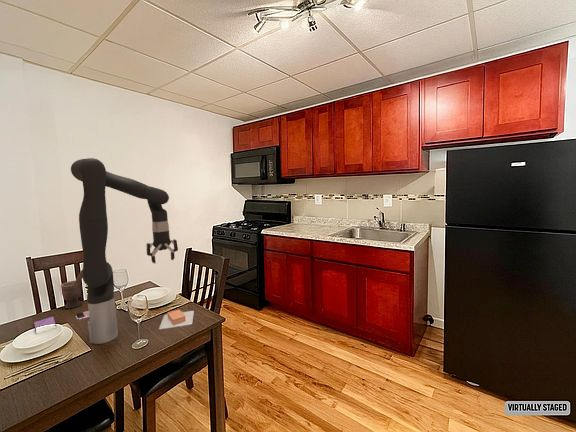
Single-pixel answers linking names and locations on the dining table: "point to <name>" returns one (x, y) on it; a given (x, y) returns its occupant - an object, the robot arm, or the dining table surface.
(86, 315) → the mobile phone
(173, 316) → the card box
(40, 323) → the sponges
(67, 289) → the mortar and pestle
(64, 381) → the dining table surface
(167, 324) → the mat
